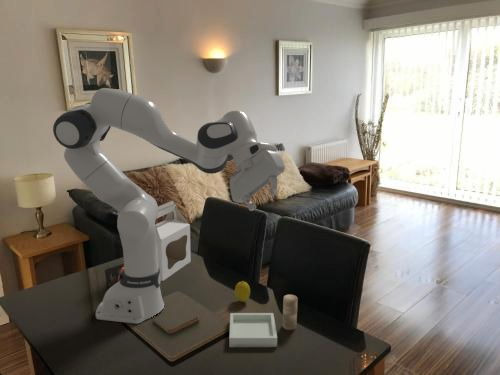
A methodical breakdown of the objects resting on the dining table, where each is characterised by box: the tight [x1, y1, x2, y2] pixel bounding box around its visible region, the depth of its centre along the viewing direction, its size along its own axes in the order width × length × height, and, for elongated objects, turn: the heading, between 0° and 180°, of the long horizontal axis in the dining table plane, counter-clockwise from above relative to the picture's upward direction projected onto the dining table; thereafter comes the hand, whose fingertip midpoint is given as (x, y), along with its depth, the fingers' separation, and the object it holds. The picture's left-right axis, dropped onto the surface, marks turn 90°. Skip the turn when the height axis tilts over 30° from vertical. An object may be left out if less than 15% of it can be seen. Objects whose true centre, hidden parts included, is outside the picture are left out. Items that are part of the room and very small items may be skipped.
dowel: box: [282, 294, 299, 331], centre depth 130 cm, size 4×4×10 cm
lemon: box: [234, 280, 251, 303], centre depth 145 cm, size 6×6×8 cm
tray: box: [228, 312, 278, 348], centre depth 126 cm, size 14×14×3 cm
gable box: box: [155, 200, 192, 282], centre depth 170 cm, size 22×13×28 cm, turn 157°
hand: (263, 202), depth 113 cm, fingers open, 8 cm apart
